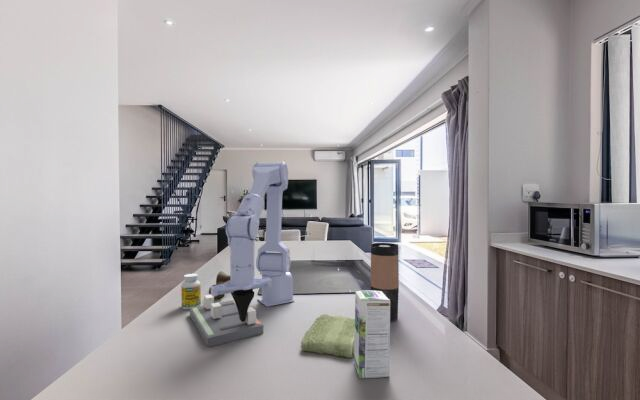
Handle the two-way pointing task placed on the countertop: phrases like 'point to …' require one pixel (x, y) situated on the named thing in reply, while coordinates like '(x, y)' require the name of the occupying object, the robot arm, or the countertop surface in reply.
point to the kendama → (220, 282)
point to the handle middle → (216, 310)
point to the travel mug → (386, 273)
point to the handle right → (208, 301)
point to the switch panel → (223, 324)
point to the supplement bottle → (191, 291)
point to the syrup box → (372, 334)
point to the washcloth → (331, 336)
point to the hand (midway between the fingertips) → (242, 320)
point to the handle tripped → (250, 316)
